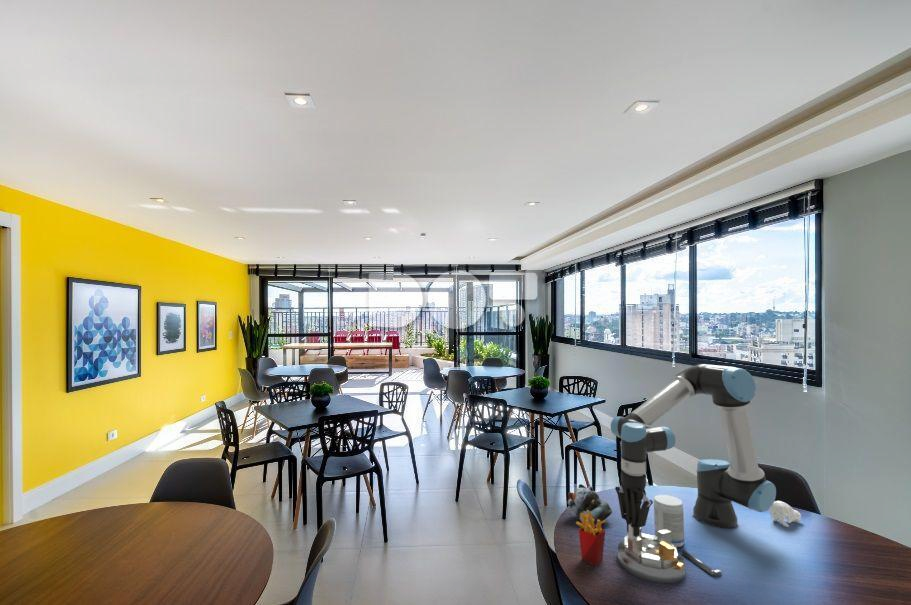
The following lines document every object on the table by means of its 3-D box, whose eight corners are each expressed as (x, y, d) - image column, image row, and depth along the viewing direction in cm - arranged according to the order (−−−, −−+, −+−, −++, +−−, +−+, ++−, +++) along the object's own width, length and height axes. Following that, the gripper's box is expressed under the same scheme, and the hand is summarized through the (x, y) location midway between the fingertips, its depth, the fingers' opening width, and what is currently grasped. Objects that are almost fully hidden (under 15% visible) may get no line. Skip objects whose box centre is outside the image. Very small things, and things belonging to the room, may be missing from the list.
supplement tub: (689, 543, 146) (688, 501, 147) (675, 551, 141) (674, 508, 141) (663, 531, 154) (662, 492, 155) (649, 538, 149) (648, 498, 150)
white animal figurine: (767, 498, 164) (791, 498, 166) (766, 519, 163) (790, 519, 165) (782, 505, 157) (807, 505, 160) (781, 527, 157) (806, 527, 159)
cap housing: (656, 544, 145) (656, 526, 146) (700, 579, 126) (699, 559, 126) (606, 549, 141) (605, 532, 142) (643, 586, 122) (642, 566, 122)
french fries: (606, 559, 136) (606, 514, 136) (594, 570, 130) (594, 522, 130) (582, 549, 142) (581, 505, 142) (570, 558, 136) (569, 513, 137)
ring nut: (625, 536, 144) (624, 519, 144) (674, 546, 138) (674, 528, 138) (624, 560, 130) (624, 541, 130) (679, 573, 123) (679, 553, 124)
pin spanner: (681, 554, 139) (681, 549, 139) (689, 553, 140) (689, 548, 140) (712, 577, 127) (712, 572, 127) (721, 575, 128) (721, 570, 128)
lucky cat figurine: (590, 531, 153) (572, 494, 158) (574, 530, 164) (557, 495, 168) (618, 513, 159) (600, 478, 163) (601, 512, 170) (584, 479, 174)
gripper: (609, 466, 137) (609, 537, 136) (642, 481, 125) (642, 558, 125) (625, 463, 140) (624, 532, 140) (658, 477, 129) (658, 552, 128)
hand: (633, 544), depth 132 cm, fingers closed
